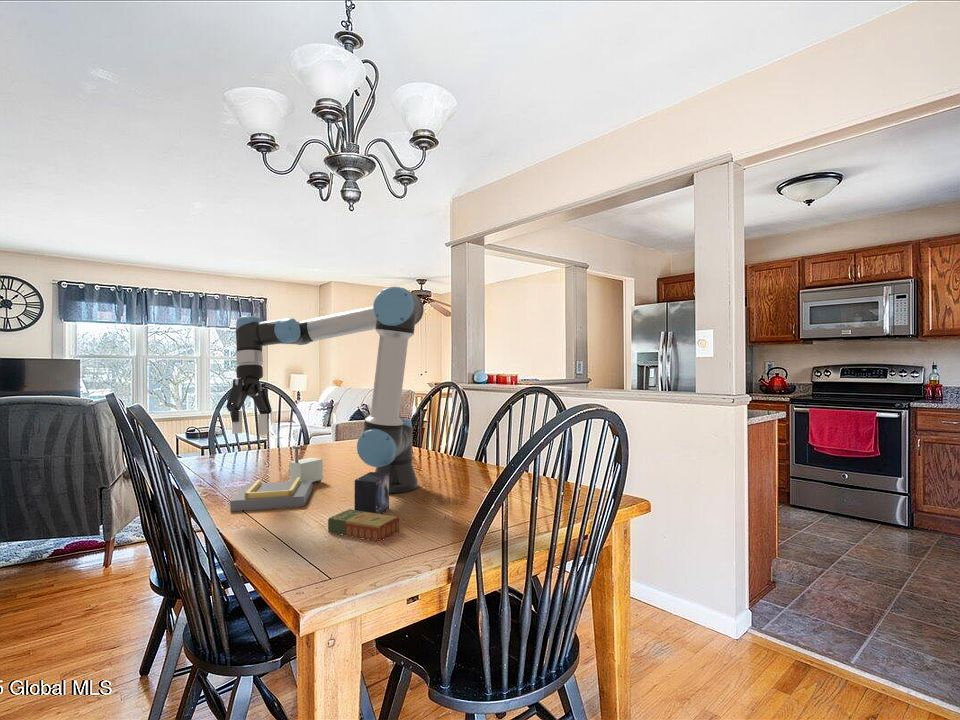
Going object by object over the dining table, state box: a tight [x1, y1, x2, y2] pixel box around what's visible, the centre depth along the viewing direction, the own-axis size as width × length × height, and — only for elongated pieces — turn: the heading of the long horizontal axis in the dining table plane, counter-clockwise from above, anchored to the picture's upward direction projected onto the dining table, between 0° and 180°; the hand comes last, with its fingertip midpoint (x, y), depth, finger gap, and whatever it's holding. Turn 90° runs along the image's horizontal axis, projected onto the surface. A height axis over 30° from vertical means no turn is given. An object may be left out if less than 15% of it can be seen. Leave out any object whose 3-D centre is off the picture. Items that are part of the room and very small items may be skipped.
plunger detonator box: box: [288, 445, 324, 484], centre depth 178 cm, size 6×9×14 cm, turn 146°
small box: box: [353, 471, 390, 514], centre depth 144 cm, size 11×6×10 cm, turn 168°
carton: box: [327, 508, 400, 542], centre depth 129 cm, size 8×16×4 cm, turn 64°
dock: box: [229, 477, 313, 512], centre depth 159 cm, size 20×20×4 cm
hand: (250, 434), depth 158 cm, fingers open, 13 cm apart
